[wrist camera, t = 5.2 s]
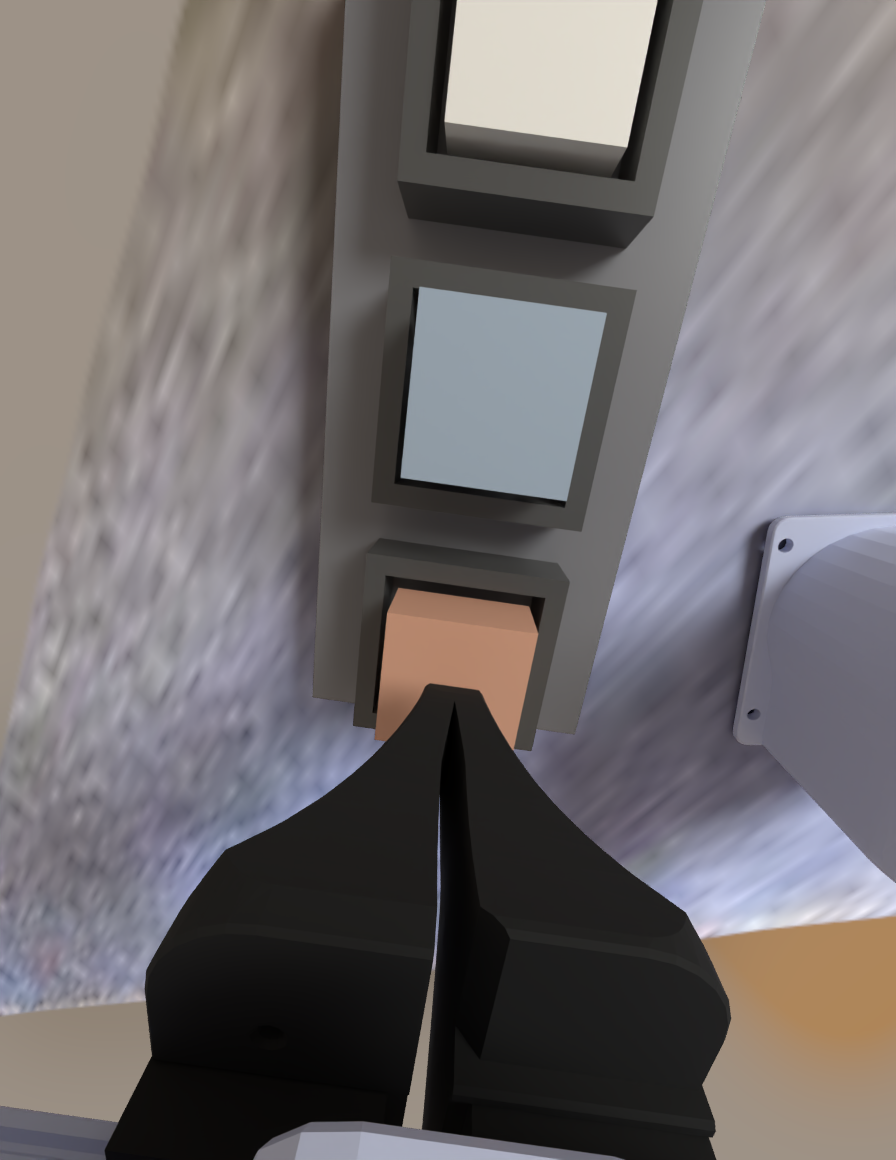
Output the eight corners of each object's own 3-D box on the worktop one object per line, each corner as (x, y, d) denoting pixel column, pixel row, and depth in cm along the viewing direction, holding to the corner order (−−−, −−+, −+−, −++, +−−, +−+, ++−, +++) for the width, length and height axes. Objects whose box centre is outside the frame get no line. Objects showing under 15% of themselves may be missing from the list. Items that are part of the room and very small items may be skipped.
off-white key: (601, 192, 12) (627, 147, 10) (448, 170, 12) (444, 121, 10) (643, -17, 11) (681, -113, 9) (471, -40, 11) (472, -142, 9)
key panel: (564, 704, 19) (587, 771, 16) (327, 670, 19) (293, 730, 16) (736, 5, 12) (854, -182, 9) (369, -46, 12) (325, -254, 9)
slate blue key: (552, 490, 13) (566, 501, 11) (410, 470, 13) (400, 477, 11) (584, 332, 12) (606, 313, 10) (427, 309, 12) (419, 286, 10)
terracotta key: (506, 717, 15) (511, 759, 13) (386, 700, 15) (374, 739, 13) (529, 606, 14) (538, 634, 12) (398, 587, 14) (386, 612, 12)
